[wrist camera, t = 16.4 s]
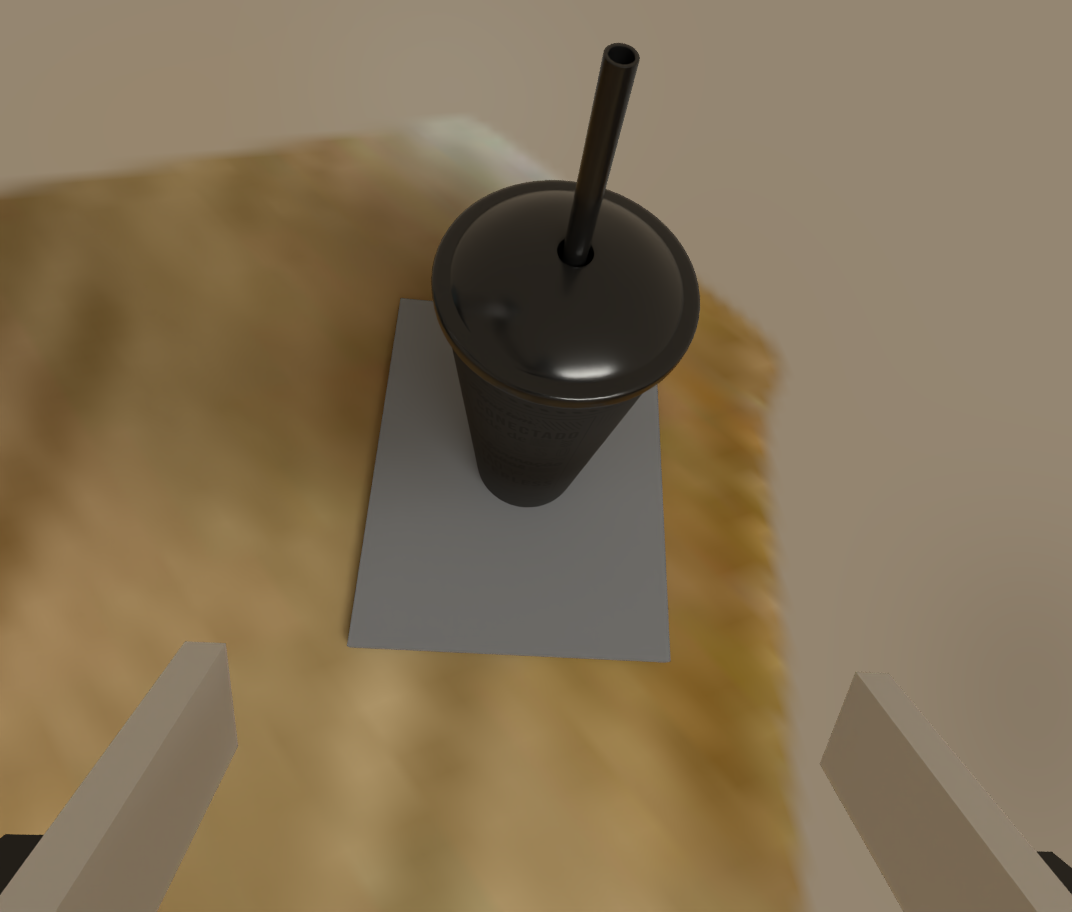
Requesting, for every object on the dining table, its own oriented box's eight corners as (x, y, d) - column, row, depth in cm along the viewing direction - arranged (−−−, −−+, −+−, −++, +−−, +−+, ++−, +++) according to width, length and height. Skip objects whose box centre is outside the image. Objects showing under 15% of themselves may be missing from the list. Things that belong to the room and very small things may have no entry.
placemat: (349, 647, 26) (347, 646, 25) (401, 304, 33) (400, 298, 32) (666, 662, 27) (670, 661, 26) (651, 328, 34) (654, 321, 33)
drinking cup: (463, 552, 27) (452, 240, 9) (435, 405, 30) (381, -68, 12) (621, 520, 29) (893, 191, 10) (580, 382, 31) (738, -74, 13)
